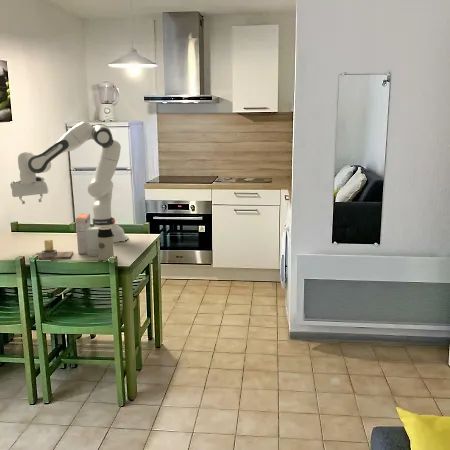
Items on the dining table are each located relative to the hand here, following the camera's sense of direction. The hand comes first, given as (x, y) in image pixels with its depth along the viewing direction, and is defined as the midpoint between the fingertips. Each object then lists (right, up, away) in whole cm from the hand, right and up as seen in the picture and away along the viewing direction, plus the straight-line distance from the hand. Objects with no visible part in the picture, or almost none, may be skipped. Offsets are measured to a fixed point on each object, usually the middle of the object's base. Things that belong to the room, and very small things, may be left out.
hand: (32, 203), depth 307 cm
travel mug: (+50, -32, -23) cm, 64 cm away
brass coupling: (+17, -30, -18) cm, 39 cm away
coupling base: (+19, -31, -18) cm, 40 cm away
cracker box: (+33, -28, -6) cm, 44 cm away
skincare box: (+41, -30, -13) cm, 53 cm away
